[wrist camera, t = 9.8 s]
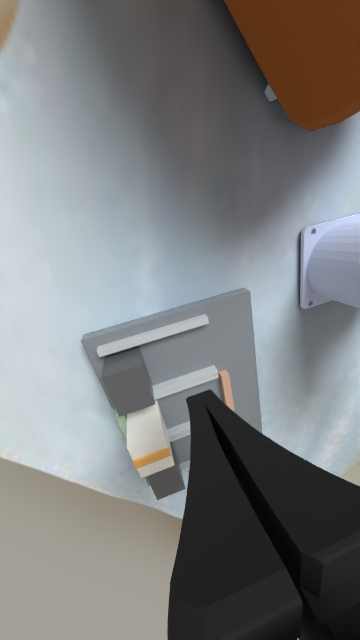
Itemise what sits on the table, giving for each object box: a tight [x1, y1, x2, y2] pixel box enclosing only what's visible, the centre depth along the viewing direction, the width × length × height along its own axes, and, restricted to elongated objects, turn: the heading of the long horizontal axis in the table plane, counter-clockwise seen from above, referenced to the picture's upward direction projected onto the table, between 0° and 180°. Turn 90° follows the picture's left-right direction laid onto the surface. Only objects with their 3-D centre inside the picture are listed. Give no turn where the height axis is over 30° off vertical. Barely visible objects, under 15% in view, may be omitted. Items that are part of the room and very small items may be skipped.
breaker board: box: [81, 288, 262, 500], centre depth 21 cm, size 15×20×4 cm
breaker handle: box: [127, 400, 175, 478], centre depth 19 cm, size 3×4×4 cm
